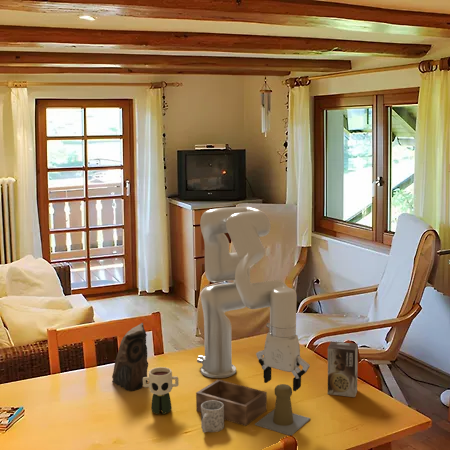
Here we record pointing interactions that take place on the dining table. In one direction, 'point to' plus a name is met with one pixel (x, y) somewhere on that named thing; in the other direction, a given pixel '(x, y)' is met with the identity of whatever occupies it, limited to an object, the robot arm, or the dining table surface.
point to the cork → (283, 405)
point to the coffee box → (342, 368)
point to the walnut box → (234, 401)
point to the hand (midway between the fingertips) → (281, 385)
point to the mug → (212, 416)
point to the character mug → (160, 388)
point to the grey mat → (288, 430)
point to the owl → (131, 360)
